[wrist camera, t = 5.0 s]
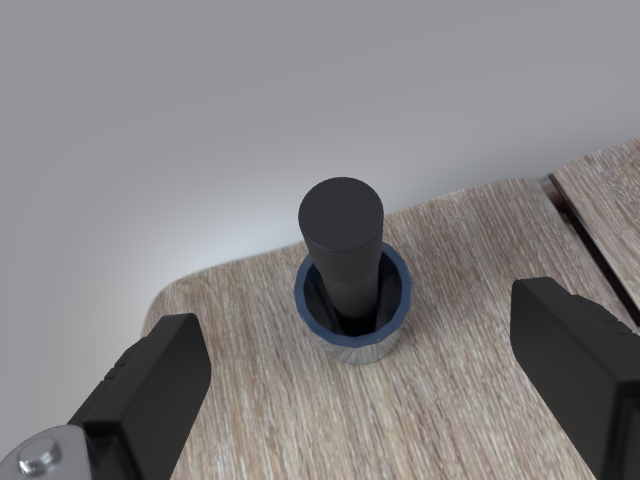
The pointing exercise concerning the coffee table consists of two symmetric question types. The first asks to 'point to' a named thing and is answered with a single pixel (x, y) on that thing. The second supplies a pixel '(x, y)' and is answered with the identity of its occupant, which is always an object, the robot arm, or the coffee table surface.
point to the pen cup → (390, 310)
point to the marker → (346, 247)
